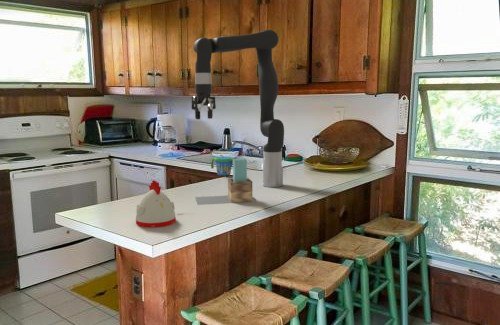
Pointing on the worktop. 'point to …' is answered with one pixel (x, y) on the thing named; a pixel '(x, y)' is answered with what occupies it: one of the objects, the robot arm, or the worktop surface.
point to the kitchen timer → (155, 208)
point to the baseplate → (215, 200)
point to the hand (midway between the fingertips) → (204, 118)
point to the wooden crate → (240, 191)
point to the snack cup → (223, 165)
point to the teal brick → (239, 170)
